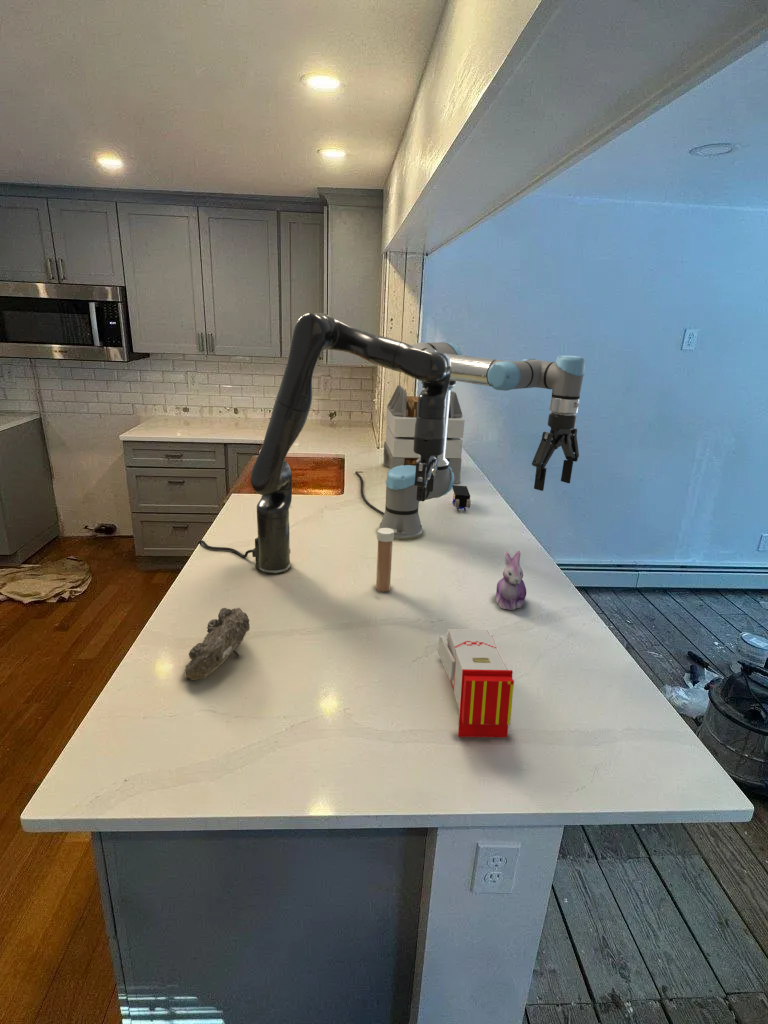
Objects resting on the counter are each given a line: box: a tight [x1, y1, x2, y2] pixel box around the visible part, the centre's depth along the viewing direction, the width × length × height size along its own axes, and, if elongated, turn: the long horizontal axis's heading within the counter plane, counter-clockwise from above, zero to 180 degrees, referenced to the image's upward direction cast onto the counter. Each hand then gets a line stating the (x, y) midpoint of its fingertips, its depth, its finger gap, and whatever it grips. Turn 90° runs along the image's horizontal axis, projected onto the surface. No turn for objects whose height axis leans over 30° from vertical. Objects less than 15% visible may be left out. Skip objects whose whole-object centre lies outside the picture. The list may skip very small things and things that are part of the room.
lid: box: [376, 528, 395, 542], centre depth 155 cm, size 5×5×2 cm
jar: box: [375, 539, 394, 593], centre depth 158 cm, size 4×4×17 cm
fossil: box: [184, 607, 250, 681], centre depth 125 cm, size 22×10×15 cm
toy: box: [437, 628, 515, 738], centre depth 117 cm, size 12×13×30 cm
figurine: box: [495, 550, 527, 611], centre depth 153 cm, size 9×10×15 cm
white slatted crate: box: [383, 384, 465, 484], centre depth 268 cm, size 34×33×41 cm
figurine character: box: [451, 484, 472, 513], centre depth 228 cm, size 7×8×15 cm
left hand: (424, 495), depth 148 cm, fingers open, 8 cm apart
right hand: (552, 485), depth 166 cm, fingers open, 13 cm apart
